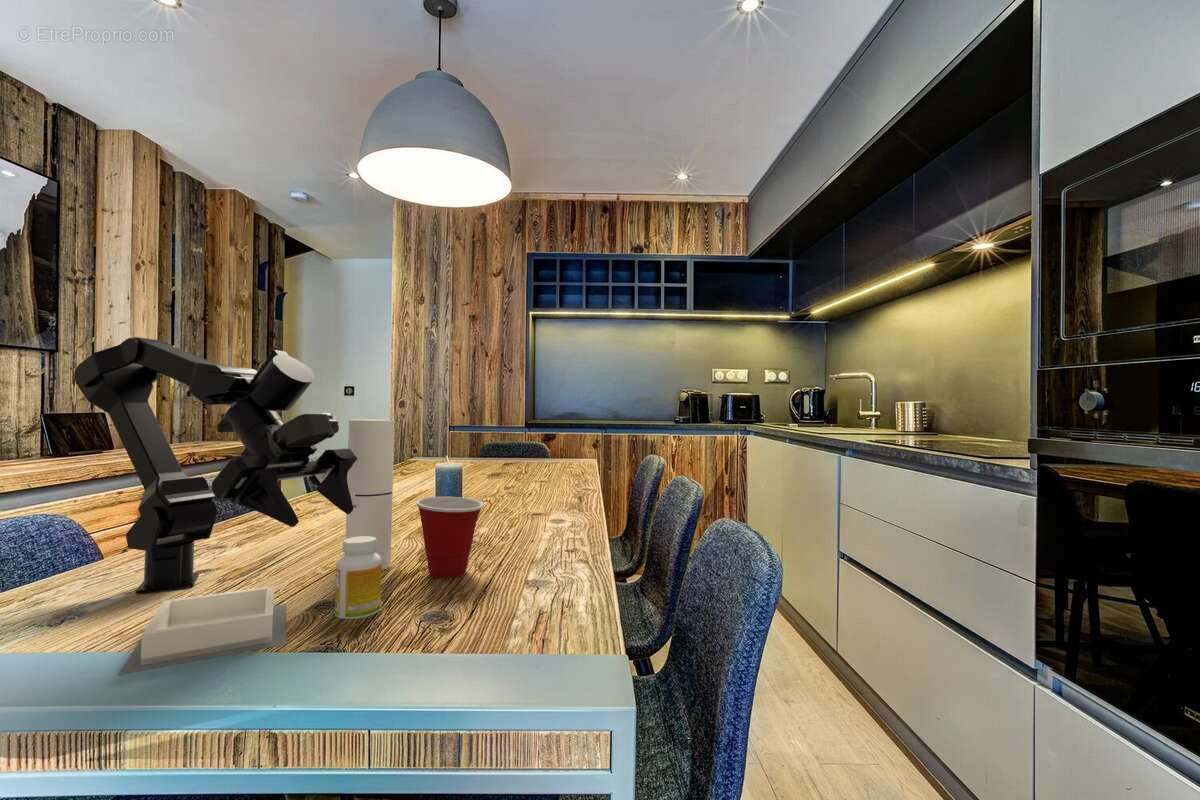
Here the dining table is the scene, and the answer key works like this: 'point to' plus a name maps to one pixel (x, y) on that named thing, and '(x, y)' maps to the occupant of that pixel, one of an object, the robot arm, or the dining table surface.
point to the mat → (277, 639)
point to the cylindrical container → (372, 483)
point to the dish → (208, 624)
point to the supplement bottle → (358, 579)
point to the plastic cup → (448, 533)
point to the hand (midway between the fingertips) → (325, 517)
